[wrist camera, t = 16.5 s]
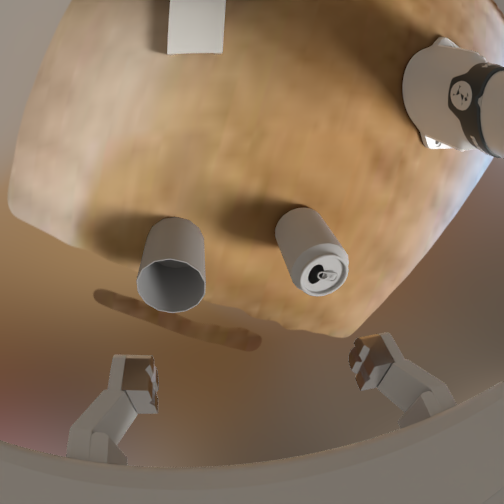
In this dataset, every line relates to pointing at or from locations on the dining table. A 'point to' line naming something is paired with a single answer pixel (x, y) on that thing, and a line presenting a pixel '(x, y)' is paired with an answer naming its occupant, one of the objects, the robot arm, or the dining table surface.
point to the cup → (173, 266)
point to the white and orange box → (196, 26)
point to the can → (311, 252)
